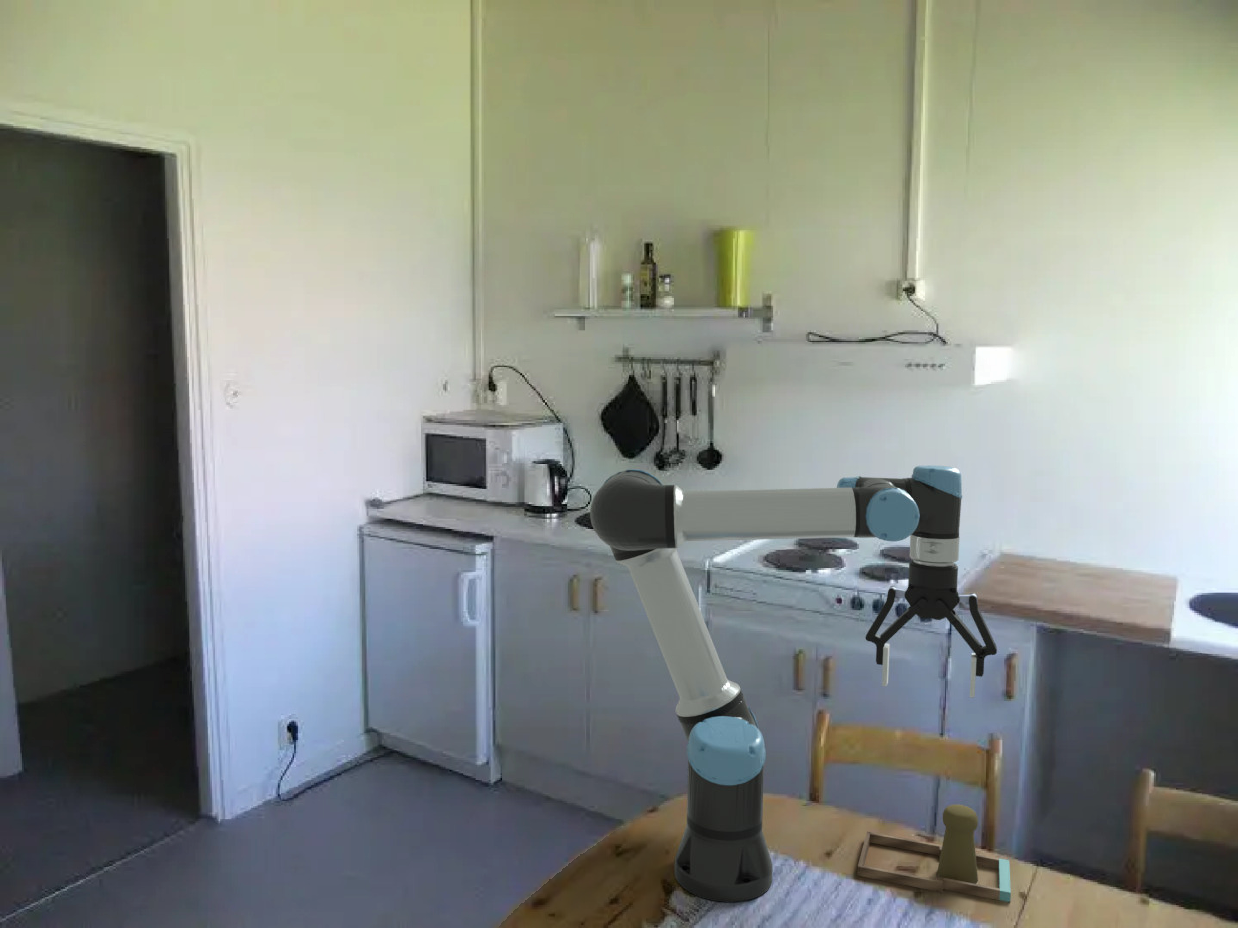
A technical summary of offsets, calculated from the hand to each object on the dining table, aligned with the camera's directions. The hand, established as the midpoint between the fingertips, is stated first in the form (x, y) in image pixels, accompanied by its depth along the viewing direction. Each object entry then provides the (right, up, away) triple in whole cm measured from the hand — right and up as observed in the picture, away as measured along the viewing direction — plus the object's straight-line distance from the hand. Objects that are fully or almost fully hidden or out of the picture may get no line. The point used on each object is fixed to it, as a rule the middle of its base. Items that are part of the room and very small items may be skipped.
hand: (927, 689), depth 154 cm
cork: (+2, -28, -7) cm, 29 cm away
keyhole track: (-1, -27, -6) cm, 28 cm away
